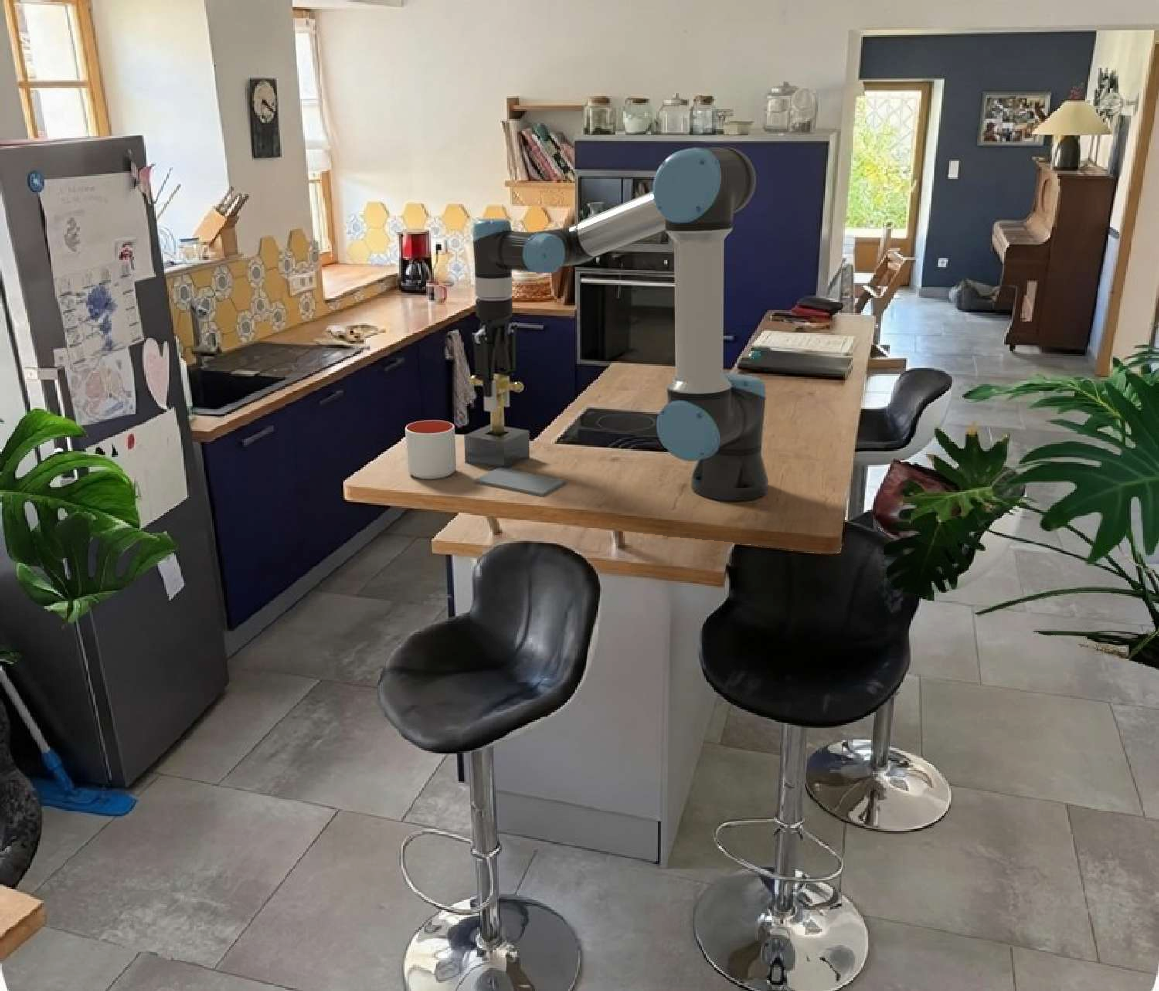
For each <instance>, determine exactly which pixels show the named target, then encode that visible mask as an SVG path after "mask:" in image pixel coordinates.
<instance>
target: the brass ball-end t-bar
mask: <svg viewBox="0 0 1159 991" xmlns="http://www.w3.org/2000/svg"><path fill="white" fill-rule="evenodd" d="M488 376H489V375H488ZM493 381H496V395H497V412H490V411H489V412H490V424H491V435H492V436H497V437H501V436H503V435H504V426H505V413H504V411H505V410H504V404H503V392H505V391H508V390H509V391H514V392H516V393H521V392H522V391H523V390H524V384H523V383H522V382H521V381H510V376H507V375H501V374H499V373H494V379H493ZM469 382H470V384H471V385H472V386H473V387H476V386H481V387H483V382H482V381H480V380H477V379H476V377H475V374H473V375H471V376H470V377H469Z"/></svg>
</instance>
